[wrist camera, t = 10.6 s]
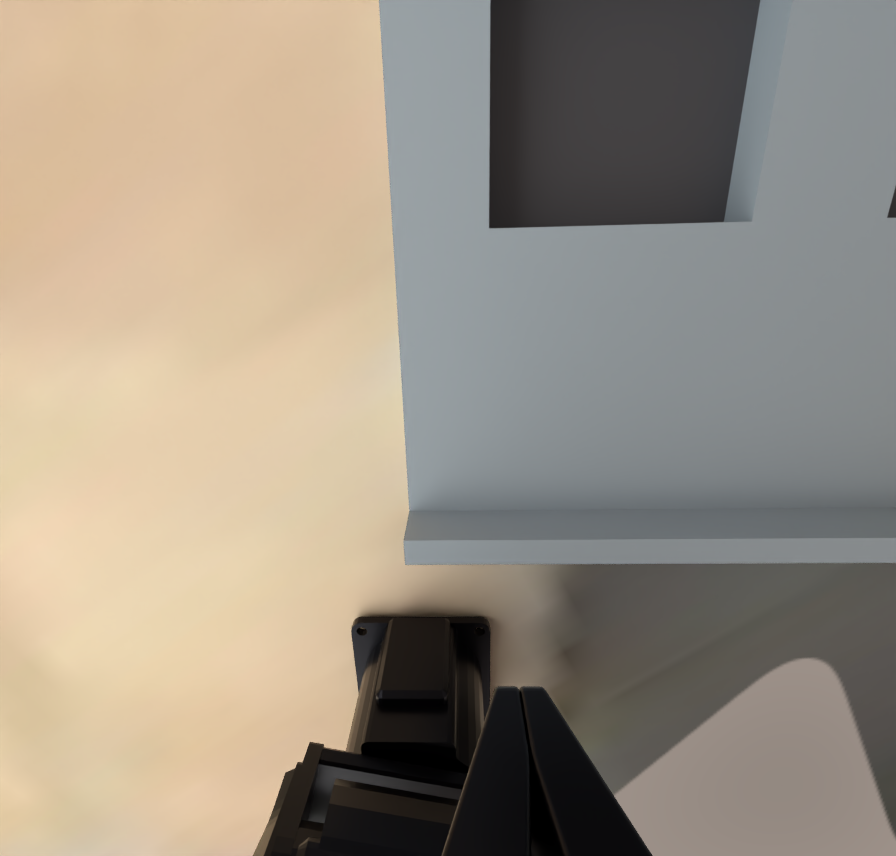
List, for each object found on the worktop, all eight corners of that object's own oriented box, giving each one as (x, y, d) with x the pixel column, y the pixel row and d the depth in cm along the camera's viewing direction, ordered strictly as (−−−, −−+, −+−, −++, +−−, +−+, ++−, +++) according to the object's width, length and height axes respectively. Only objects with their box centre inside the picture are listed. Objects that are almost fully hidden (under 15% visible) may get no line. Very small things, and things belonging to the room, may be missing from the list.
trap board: (1091, 502, 20) (1284, 580, 15) (415, 507, 21) (402, 583, 16) (1427, -160, 13) (1983, -393, 8) (381, -108, 14) (341, -291, 9)
